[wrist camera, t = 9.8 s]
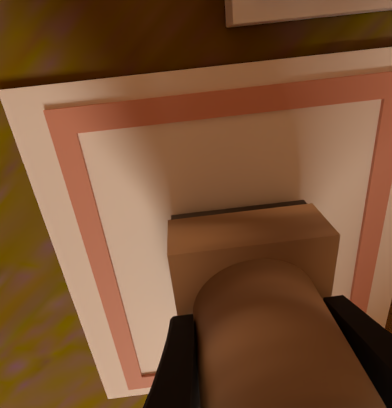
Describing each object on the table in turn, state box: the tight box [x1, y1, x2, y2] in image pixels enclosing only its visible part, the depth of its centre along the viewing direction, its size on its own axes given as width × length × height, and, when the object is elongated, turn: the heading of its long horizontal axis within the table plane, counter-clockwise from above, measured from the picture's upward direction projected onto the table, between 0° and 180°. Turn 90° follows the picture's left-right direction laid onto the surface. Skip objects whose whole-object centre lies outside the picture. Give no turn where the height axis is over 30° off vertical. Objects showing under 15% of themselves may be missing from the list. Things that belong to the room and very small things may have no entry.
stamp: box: [167, 200, 387, 408], centre depth 9 cm, size 5×5×6 cm
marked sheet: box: [0, 47, 392, 399], centre depth 13 cm, size 14×15×1 cm
